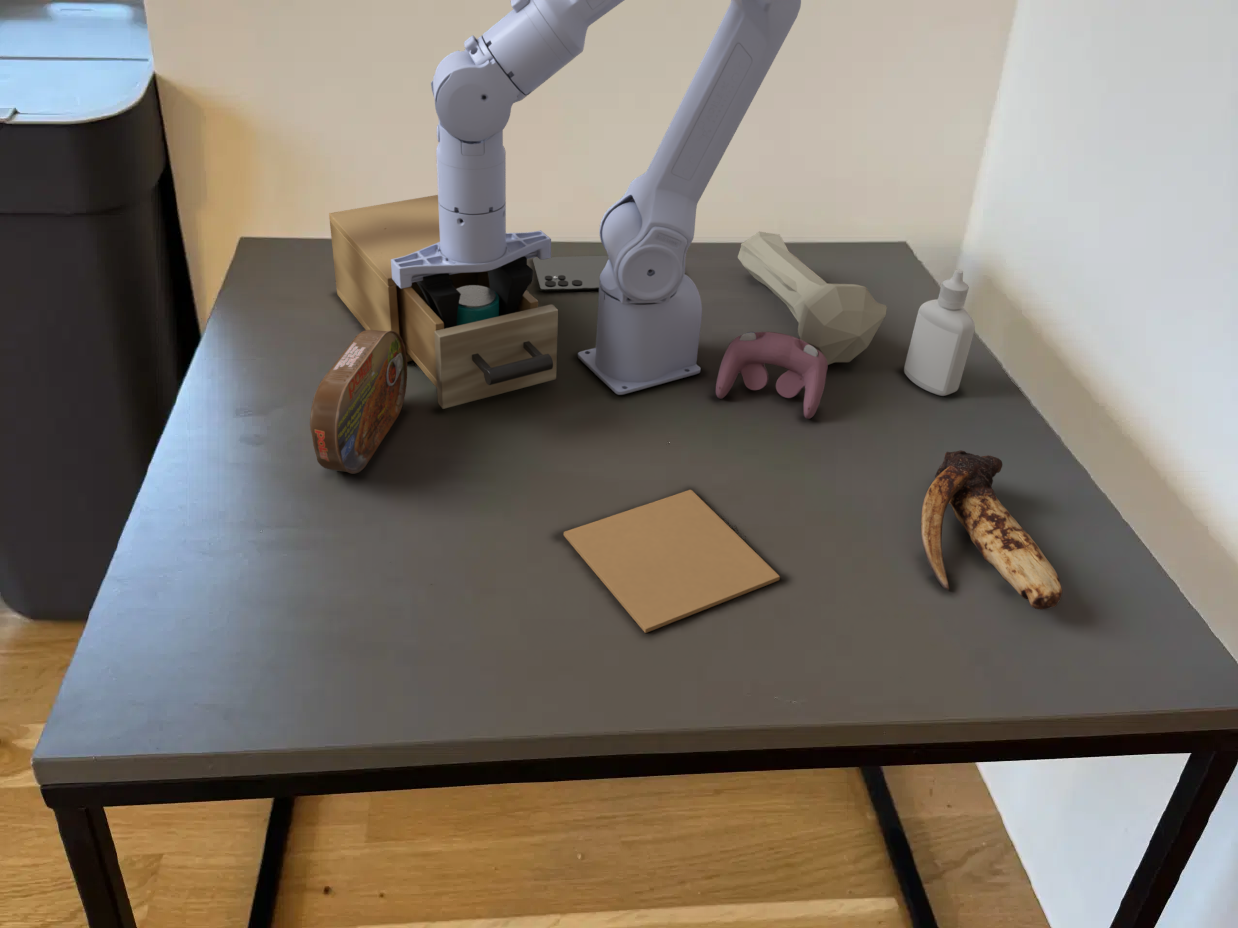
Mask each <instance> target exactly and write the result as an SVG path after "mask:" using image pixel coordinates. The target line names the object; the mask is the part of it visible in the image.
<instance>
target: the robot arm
mask: <svg viewBox="0 0 1238 928" xmlns="http://www.w3.org/2000/svg"><path fill="white" fill-rule="evenodd" d="M509 1H510V6H511V8H512V9H511V10H510V11H509V12H507V14H506V15H504V16H503V17H502V18H500V19H499V20H498V21H497V22H496V23H494V24H493V25H492V26H490V28H488V29H487V30H486V31H485V32H483V34H481V35H480V36H479V37H478V38H477V37H475V36H474V35H473V34H472V35H471V36H469V37H468V38H467V39H465V41H463V46H464V49H463V50H461V51H460V50H459V49H458V50H455V51H453V52H451V53H449V54H448V55H446V56H445V57H443V58H442V59H441V61H440V62H439V63H438V65H437V66H436V68H435V73H434V74H433V77H432V78H433V79H432V80H431V82H430V87H431V88H430V89H431V92H432V96H433V99H434V107H435V113H436V115H437V118H438V124H437V125H436V140H437V146H436V151H435V154H436V156H435V157H436V177H437V178H436V180H437V195H438V206H439V231H440V242H438V243H436V244H433V245H431V246H428V247H426V248H424V249H421V250H419V251H416V252H414V253H411V254H409V255H406V256H403V257H399V258H395V259H391V269H392V279H393V281H394V282H395V283H396V284H397V285H398V286H399V287H400V288H401V289H402V288H407V287H411V286H412V283H413V282H417V284H418V285H419V287H420V289H421V291H422V292H423V294H424V296H425V298H426V300H427V302H428V304H429V306H430V308H431V309H432V310H433V311H434V313H435V314H436V315H437V316H438V317H439V318H440V319H441V320H442V321H443V322H444V329H446V328H450V327H454V326H457V312H458V305H459V300H460V296H461V294H460V293H459V291H458V290H457V289H456V288H455V287H454V286H453V280H451V279H450V276H449V275H452V274H457V273H467V272H484V271H488V276H489V284H490V289H491V290H493V291H494V292H496V293H497V294H498V296H499V316H503V315H507V314H511V313H515V311H516V309H517V306H518V304H519V302H520V300H521V298H522V296H523V294H524V293H525V291H527V289H528V288H529V287H530V285H531V284H532V283H533V279H534V270H533V268H531V266H530V265H529V264H528V260H531V259H533V258H536V257H538V258H539V259H541V260H542V259H548V258H551V257H552V238H551V237H550V236H548V235H547V234H546V233H545V232H544V231H542V230H535V231H526V232H506V231H507V200H506V199H507V198H506V197H507V195H506V193H507V191H506V190H507V186H506V185H507V183H506V181H507V178H506V177H507V175H506V174H507V167H506V166H507V163H506V162H507V161H506V160H507V159H506V154H507V153H506V152H507V151H506V149H505V146H504V129H505V128H506V127H507V125H508V123H509V120H510V117H511V112H512V107H513V105H514V104H515V103H519V102H520V101H522V100H524V99H525V98H527V97H528V96H529V95H530V94H532V93H533V92H534V91H535V90H536V89H538V88H539V87H540V86H542V85H543V84H544V83H545V82H547V81H548V80H549V79H550V78H552V77H553V76H554V75H555V74H556V73H558V72H559V71H561V70H562V69H563V68H564V67H565V66H566V65H568V64H570V63H571V62H572V61H573V60H574V59H575V58H577V57H578V56H579V55H580V54H582V53H583V51H584V49H585V44H586V43H585V42H586V36H587V33H588V32H587V31H588V29H589V27H590V26H591V25H593V24H594V23H596V22H597V21H598V20H599V19H601V18H602V17H604V16H605V15H606V14H607V13H609V12H610V11H612V10H613V9H614V8H616V7H617V6H619V5H620V4H621V3H623V2H624V1H625V0H509ZM801 5H802V0H730V2H729V6H728V7H727V9H726V12H725V14H724V15H723V18H722V20H721V22H720V24H719V26H718V27H717V30H716V32H715V34H714V36H713V37H712V40H711V42H710V43H709V46H708V47H707V49H706V52H705V53H704V56H703V58H702V59H701V62H700V63H699V65H698V67H697V70H696V71H695V73H694V75H693V77H692V80H690V84H689V85H688V87H687V90H686V91H685V93H684V96H683V97H682V100H681V101H680V103H679V105H678V107H677V109H676V111H675V113H674V115H673V118H672V119H671V121H670V123H669V126H668V127H667V129H666V131H665V133H664V135H663V137H662V139H661V141H660V143H659V145H658V147H657V149H656V151H655V153H654V155H653V157H652V159H651V161H650V163H649V165H648V167H647V169H646V171H645V172H644V173H642V174H640V175H639V176H637V177H635V178H634V179H633V180H631V181H630V183H629V185H628V187H627V189H626V191H625V193H624V194H623V195H622V196H621V198H619V199H618V200H617V201H615V202H614V203H613V204H612V205H610V206H609V208H607V210H606V211H605V212H604V214H603V216H602V217H601V219H600V223H599V232H598V233H599V239H600V242H601V244H602V246H603V248H604V250H605V251H606V254H607V256H608V257H609V259H608V261H607V264H606V266H605V268H604V269H603V271H602V273H601V274H600V280H599V282H600V283H599V290H598V298H597V299H598V300H597V301H598V303H597V318H596V319H597V320H596V336H595V337H596V338H595V347H593V348H589V349H585V350H581V351H579V352H577V359H579V360H580V361H581V362H582V363H583V364H584V366H586V367H587V368H588V369H589V370H590V371H591V372H593V373H594V375H595V376H597V378H599V380H601V382H603V384H605V385H606V386H607V387H608V388H609V389H611V391H612V392H614V394H616V395H618V396H624V395H627V394H630V393H633V392H637V391H641V390H645V389H648V388H652V387H655V386H659V385H662V384H666V383H670V382H674V381H677V380H680V379H683V378H684V379H685V378H687V377H691V376H695V375H698V374H700V373H701V366H699V365H698V364H697V361H698V351H699V343H700V335H701V326H702V318H703V305H702V304H703V303H702V299H701V294H700V291H699V288H698V287H697V285H696V284H695V282H694V281H693V279H691V277H690V276H688V275H687V274H685V273H686V257H687V253H688V250H689V248H690V246H691V245H692V242H693V240H694V237H695V229H696V218H697V207H698V203H699V202H700V200H701V198H702V196H703V193H704V192H705V190H706V189H707V187H708V185H709V183H710V181H711V179H712V177H713V175H714V173H715V171H716V169H717V168H718V166H719V164H720V163H721V160H722V158H723V156H724V154H725V153H726V151H727V149H728V147H729V146H730V143H731V141H732V140H733V138H734V136H735V134H736V133H737V130H738V128H739V127H740V125H741V122H742V121H743V119H744V117H745V116H746V113H747V111H748V110H749V108H750V106H751V104H752V102H753V101H754V98H755V96H756V95H757V93H758V91H759V89H760V87H761V85H762V84H763V83H764V80H765V78H766V76H767V74H768V73H769V70H770V69H771V67H772V65H773V63H774V61H775V59H776V57H777V55H778V53H779V51H780V50H781V49H782V46H783V44H784V42H785V40H786V39H787V36H788V34H790V32H791V29H792V27H793V25H794V23H795V21H796V19H797V18H798V17H799V16H798V15H799V13H800V10H801Z"/></svg>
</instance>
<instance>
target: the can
mask: <svg viewBox="0 0 1238 928" xmlns="http://www.w3.org/2000/svg"><path fill="white" fill-rule="evenodd" d="M457 290H458V291H459V293H460V294H461V296H460V300H459V305H458V312H457V326H459V325H463V324H468V323H472V322H476V321H481V320H485V319H490V318H494V317H498V316H499V296H498V294H497V293H496V292H494V291H493V290H491V289H489V288H487V287H484V286H478V285H469V286H463V287H460V288H457Z"/></svg>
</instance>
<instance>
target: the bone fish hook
mask: <svg viewBox="0 0 1238 928" xmlns="http://www.w3.org/2000/svg"><path fill="white" fill-rule="evenodd" d="M1002 468H1003V461H1002V460H1001V459H1000V458H999V457H996V456H994V455H988V454H987V455H981V456H980V455H978V454H974V453H970V452H967V451H965V450H961V449H959V450H955V451H945V453H944V457H943V461H942V463H941V465H939V467H938V469H937V471H936V472H935V475H934V478H935V479H934V480H933V481H932V482H931V484H930V485H929V487H928V488H927V490H926V493H925V496H924V498H923V502H922V507H921V515H920V536H921V542H922V547H923V551H924V554H925V558H926V560H927V563H928V565H929V567H930V570H931V571H932V573H933V575H934V577H935V579H936V580H937V582H938V583H939V584H940V585H941V587H942V588H943V589H945V590H950V584H949V580H948V576H947V571H946V567H945V562H944V561H945V560H944V554H943V542H942V541H943V539H942V538H943V526H944V525H943V524H944V517H945V512H946V510H947V508H948V505H950V506H951V509H952V510H953V513H954V516H955V518H956V520H957V521H959V522H960V524H961V525H962V527H963V528H964V529H965V531H966V532H967V534H968V535H969V537H970V540H971V542H972V543H973V544H974V545H975V547H976V548H977V550H978V551H979V552H980V555H982V557H983V559H984V560H985V561H986V562H988V563H989V564H990V565H992V566H993V567H994V568H995V569H996V570H997V571H998V572H999V574H1000V575H1001V577H1002V579H1003V580H1005V581H1006V582H1007V583H1009V584H1010V586H1012V588H1013V589H1014V590H1015V591H1016V592H1017V593H1018V594H1019V595H1020V596H1021V598H1023V599H1024V600H1026V601H1027V600H1028V602H1029V605H1030V607H1031V608H1033V609H1035V610H1048V609H1051V608H1055V607H1056V606H1057V605H1058V604H1059V602H1060V600H1061V598H1062V595H1063V589H1062V585H1061V581H1060V578H1059V576H1058V573H1057V572H1056V570H1055V569H1054V567H1053V565H1052V564H1051V562H1050V561H1049V560H1048V558H1046V556H1045V555H1044V553H1043V552H1042V550H1041V548H1040V547H1039V545H1038V544H1037V543H1036V542H1035V541H1034V540H1033V539H1032V537H1031V535H1030V534H1029V533H1028V532H1026V531H1025V530H1024V528H1023V527H1022V526H1021V525H1020V524H1019V523H1018V521H1017V520H1016V519H1015V517H1013V516H1012V515H1011V513H1010V511H1009V510H1008V509H1007V508H1006V507H1005V506H1004V505H1003V504H1002V503H1001V501H1000V500H999V498H997V496H996V493H995V491H994V489H993V487H992V486H993V483H994V480H993V479H994V477H995V476H996V475H997V474H998V473H1000V472H1001V471H1002Z"/></svg>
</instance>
